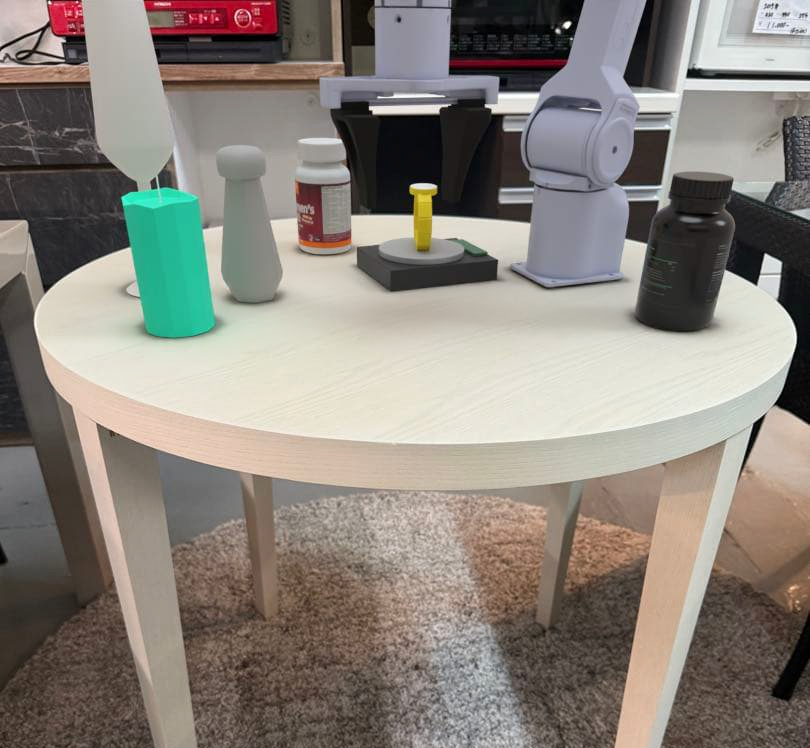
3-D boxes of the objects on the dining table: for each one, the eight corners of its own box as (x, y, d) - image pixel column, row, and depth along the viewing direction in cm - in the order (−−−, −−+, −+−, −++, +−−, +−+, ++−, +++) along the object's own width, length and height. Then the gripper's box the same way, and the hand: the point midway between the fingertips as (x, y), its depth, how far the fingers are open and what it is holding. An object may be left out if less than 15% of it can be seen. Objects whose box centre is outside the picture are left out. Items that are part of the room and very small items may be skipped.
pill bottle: (289, 247, 89) (281, 139, 82) (333, 240, 92) (329, 135, 86) (317, 258, 85) (311, 145, 78) (362, 250, 88) (360, 141, 82)
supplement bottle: (687, 306, 72) (718, 168, 66) (726, 329, 67) (764, 182, 60) (621, 309, 71) (645, 169, 64) (655, 334, 66) (686, 184, 59)
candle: (152, 315, 68) (125, 169, 62) (219, 314, 69) (200, 169, 62) (138, 338, 63) (108, 182, 57) (211, 337, 64) (189, 182, 57)
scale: (455, 255, 87) (456, 232, 85) (496, 279, 79) (498, 253, 78) (356, 265, 83) (356, 240, 81) (390, 291, 75) (390, 264, 74)
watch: (406, 240, 82) (407, 179, 78) (432, 240, 82) (434, 180, 79) (410, 254, 77) (411, 191, 73) (437, 254, 77) (440, 191, 74)
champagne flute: (182, 274, 79) (139, -9, 65) (205, 291, 74) (165, -10, 61) (117, 284, 76) (58, -11, 62) (138, 302, 71) (78, -13, 58)
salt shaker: (272, 308, 70) (258, 152, 63) (214, 303, 71) (194, 150, 64) (292, 289, 75) (281, 143, 68) (238, 285, 76) (221, 140, 69)
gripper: (337, 6, 51) (344, 219, 59) (524, 10, 56) (507, 207, 64) (307, 6, 56) (317, 202, 64) (480, 10, 61) (470, 192, 69)
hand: (409, 203), depth 64 cm, fingers open, 7 cm apart
